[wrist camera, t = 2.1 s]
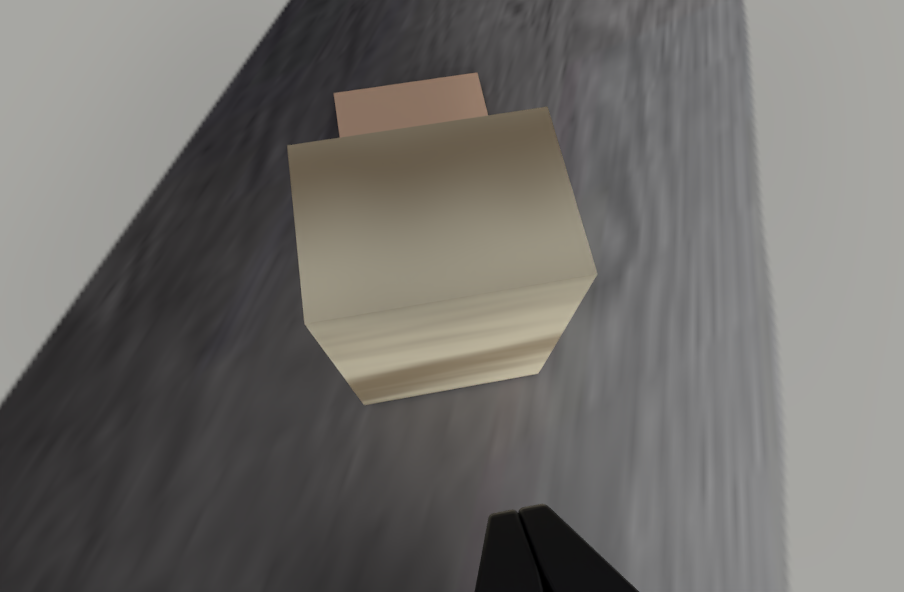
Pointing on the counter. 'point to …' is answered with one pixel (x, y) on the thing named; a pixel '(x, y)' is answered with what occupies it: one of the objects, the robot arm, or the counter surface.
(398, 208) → the birch block
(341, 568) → the counter surface
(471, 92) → the pad
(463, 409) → the counter surface
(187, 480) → the counter surface
